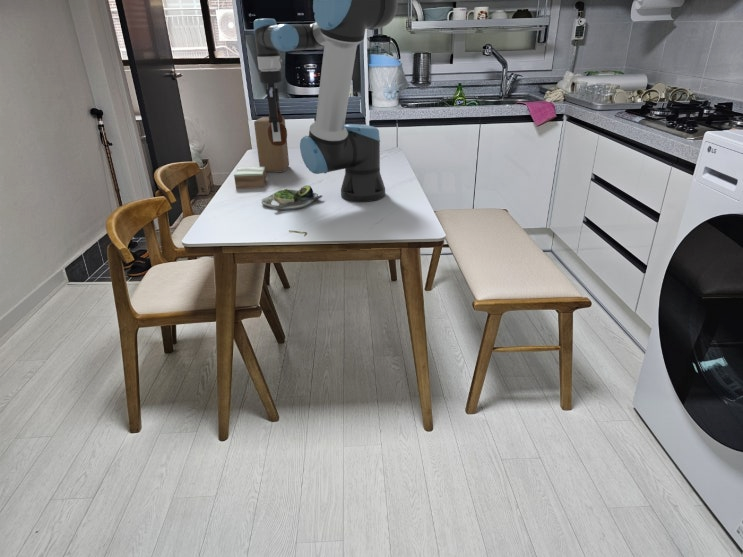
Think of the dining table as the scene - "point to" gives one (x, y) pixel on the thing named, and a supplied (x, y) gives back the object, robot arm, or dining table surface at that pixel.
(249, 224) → the dining table surface
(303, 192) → the salad plate
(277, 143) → the wooden figurine
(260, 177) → the plinth
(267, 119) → the block
